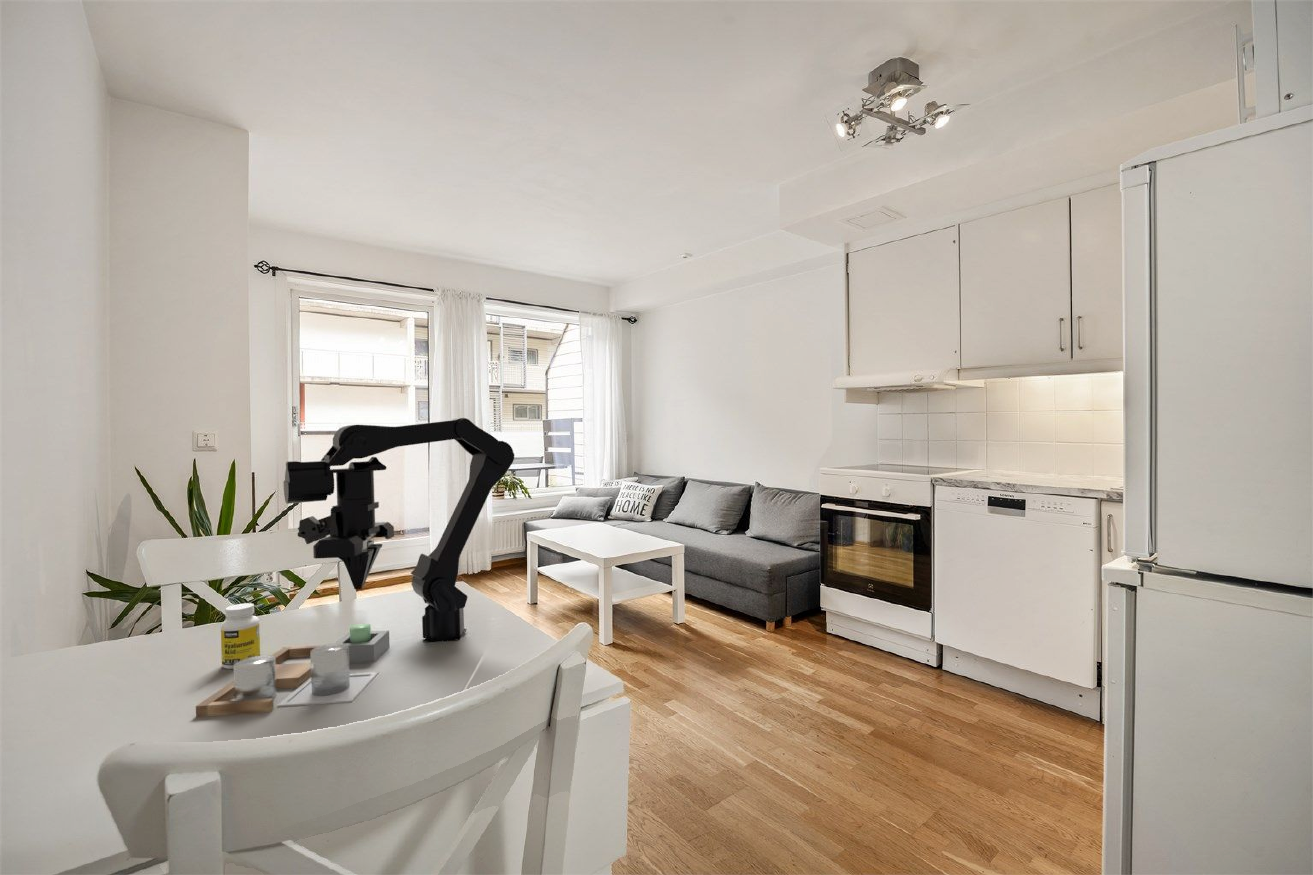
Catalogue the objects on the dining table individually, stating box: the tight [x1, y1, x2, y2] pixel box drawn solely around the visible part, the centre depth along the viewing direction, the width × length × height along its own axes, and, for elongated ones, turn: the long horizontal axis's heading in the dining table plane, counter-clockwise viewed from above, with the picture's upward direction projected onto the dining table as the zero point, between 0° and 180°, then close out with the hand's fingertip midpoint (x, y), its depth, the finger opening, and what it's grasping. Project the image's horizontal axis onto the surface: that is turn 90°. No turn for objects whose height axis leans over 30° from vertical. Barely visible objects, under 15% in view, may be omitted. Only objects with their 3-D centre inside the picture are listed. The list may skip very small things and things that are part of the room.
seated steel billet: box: [233, 654, 277, 701], centre depth 86 cm, size 5×5×6 cm
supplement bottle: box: [220, 602, 261, 670], centre depth 101 cm, size 5×5×10 cm
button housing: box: [334, 630, 390, 665], centre depth 102 cm, size 7×7×4 cm
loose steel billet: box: [310, 642, 351, 696], centre depth 88 cm, size 5×5×6 cm
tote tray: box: [276, 671, 379, 708], centre depth 88 cm, size 10×10×1 cm
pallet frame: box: [195, 644, 323, 718], centre depth 92 cm, size 10×22×2 cm, turn 5°
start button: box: [349, 623, 372, 643], centre depth 102 cm, size 3×3×3 cm
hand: (358, 589), depth 102 cm, fingers closed
